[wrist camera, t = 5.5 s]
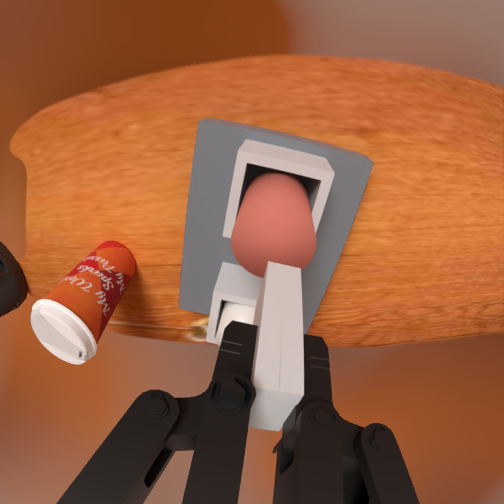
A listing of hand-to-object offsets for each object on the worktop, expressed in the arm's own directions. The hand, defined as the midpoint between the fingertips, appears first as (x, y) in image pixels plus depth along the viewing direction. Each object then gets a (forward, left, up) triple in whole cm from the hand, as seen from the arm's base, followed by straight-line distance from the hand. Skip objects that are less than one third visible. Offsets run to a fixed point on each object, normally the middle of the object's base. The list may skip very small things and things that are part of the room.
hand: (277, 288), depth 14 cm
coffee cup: (-18, -15, -18) cm, 30 cm away
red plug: (0, 0, -11) cm, 11 cm away
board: (0, -7, -18) cm, 19 cm away
